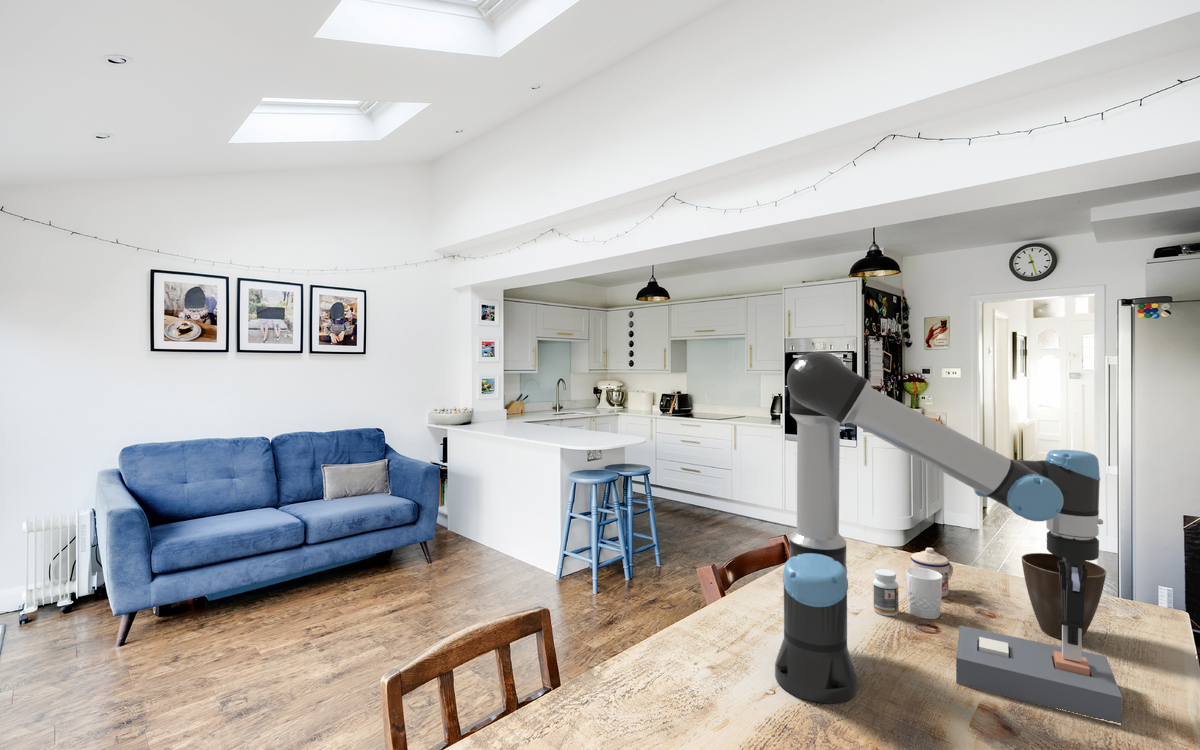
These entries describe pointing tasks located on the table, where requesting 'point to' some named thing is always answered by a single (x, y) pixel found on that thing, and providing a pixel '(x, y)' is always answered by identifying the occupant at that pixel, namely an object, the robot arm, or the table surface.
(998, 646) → the ivory plug
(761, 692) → the table surface
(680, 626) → the table surface
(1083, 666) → the terracotta plug
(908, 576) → the white cup
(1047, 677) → the socket block
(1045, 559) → the plant pot
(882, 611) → the pill bottle
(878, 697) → the table surface
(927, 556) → the teacup with lid
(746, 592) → the table surface
